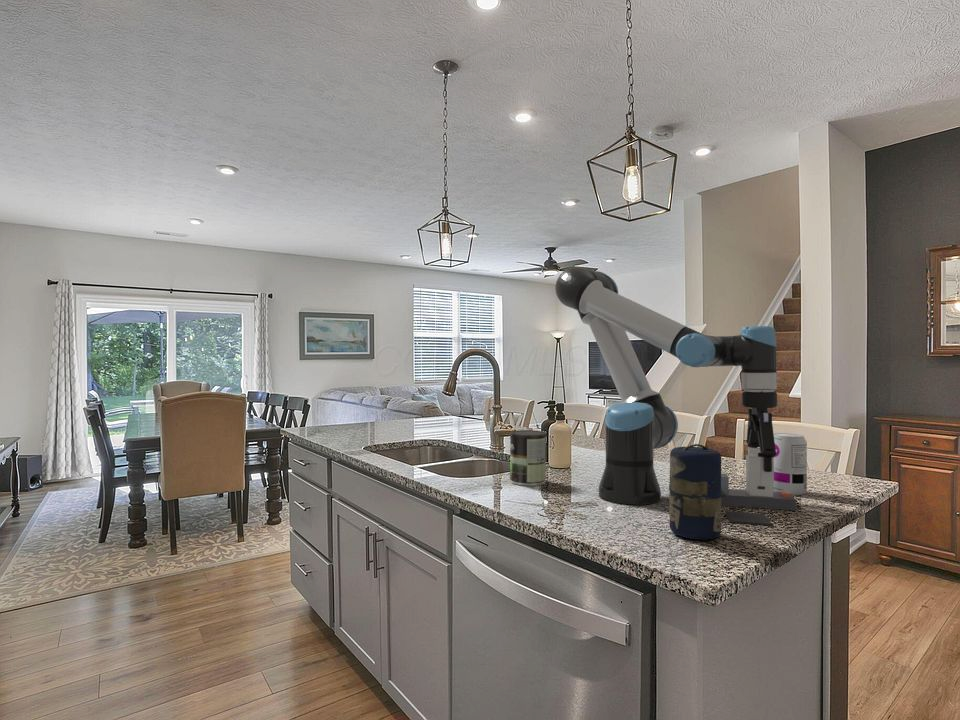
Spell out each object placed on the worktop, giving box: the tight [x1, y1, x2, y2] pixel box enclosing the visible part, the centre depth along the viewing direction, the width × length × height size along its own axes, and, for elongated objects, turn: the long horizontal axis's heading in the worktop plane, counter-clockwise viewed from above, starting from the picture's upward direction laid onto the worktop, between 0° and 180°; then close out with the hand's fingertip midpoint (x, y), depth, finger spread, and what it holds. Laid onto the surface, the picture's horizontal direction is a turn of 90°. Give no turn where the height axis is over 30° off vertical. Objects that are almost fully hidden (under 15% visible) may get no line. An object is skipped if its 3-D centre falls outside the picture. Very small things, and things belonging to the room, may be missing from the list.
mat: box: [724, 510, 773, 527], centre depth 117 cm, size 8×8×1 cm
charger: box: [745, 454, 774, 497], centre depth 129 cm, size 5×4×10 cm
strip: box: [721, 473, 797, 511], centre depth 129 cm, size 26×10×6 cm, turn 73°
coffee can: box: [509, 429, 547, 487], centre depth 153 cm, size 10×10×14 cm
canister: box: [668, 443, 722, 541], centre depth 106 cm, size 10×10×18 cm
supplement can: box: [773, 432, 808, 496], centre depth 142 cm, size 8×8×15 cm
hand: (760, 479), depth 129 cm, fingers open, 13 cm apart
